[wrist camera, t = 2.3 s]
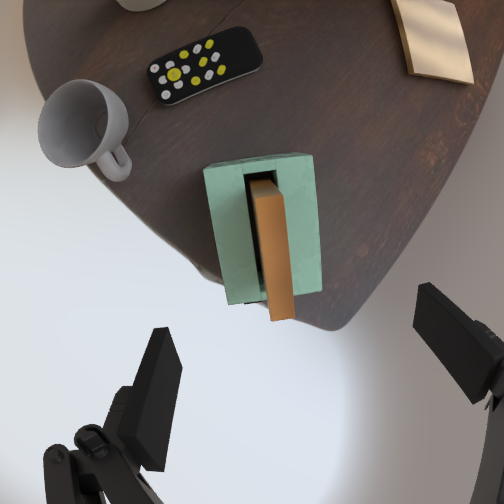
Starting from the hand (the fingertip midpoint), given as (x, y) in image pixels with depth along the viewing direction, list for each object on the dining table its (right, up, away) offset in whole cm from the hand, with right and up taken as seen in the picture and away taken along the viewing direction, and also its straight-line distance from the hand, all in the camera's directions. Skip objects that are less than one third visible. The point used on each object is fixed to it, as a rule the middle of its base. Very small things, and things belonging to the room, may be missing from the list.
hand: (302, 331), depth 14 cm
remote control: (-8, +25, +15) cm, 30 cm away
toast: (-1, +7, +19) cm, 20 cm away
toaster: (-1, +8, +22) cm, 23 cm away
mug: (-19, +18, +17) cm, 31 cm away
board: (+23, +35, +13) cm, 43 cm away
